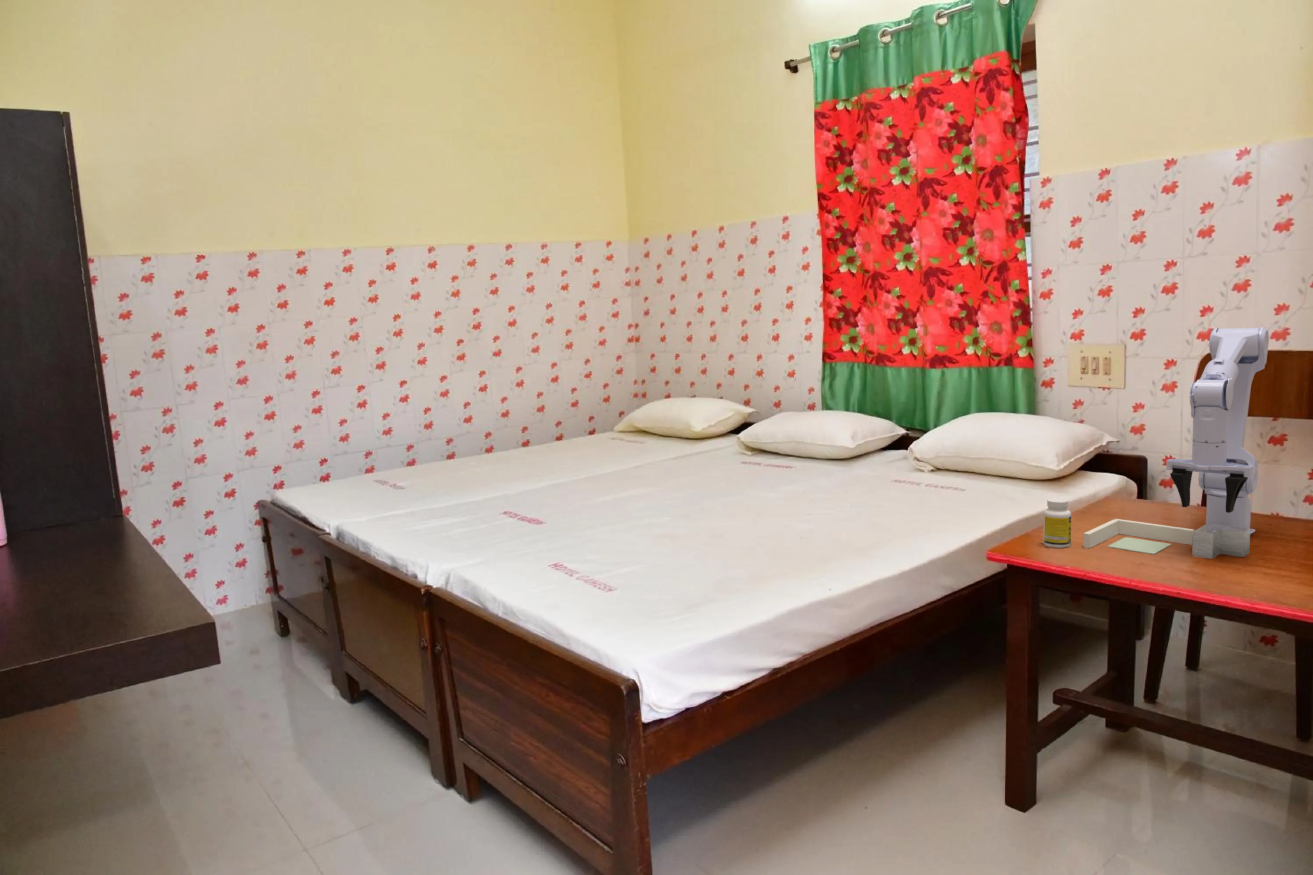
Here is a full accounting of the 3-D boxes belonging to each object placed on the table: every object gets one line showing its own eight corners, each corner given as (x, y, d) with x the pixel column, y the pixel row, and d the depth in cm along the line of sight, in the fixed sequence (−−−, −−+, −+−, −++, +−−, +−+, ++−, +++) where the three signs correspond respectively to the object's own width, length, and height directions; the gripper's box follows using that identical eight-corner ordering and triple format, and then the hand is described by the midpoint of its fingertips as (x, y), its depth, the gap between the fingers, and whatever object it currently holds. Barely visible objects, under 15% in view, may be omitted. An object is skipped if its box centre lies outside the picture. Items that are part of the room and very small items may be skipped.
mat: (1125, 537, 188) (1125, 537, 188) (1171, 544, 182) (1171, 543, 182) (1107, 546, 183) (1107, 546, 183) (1154, 554, 176) (1154, 553, 176)
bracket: (1206, 547, 179) (1207, 523, 178) (1249, 553, 173) (1250, 528, 172) (1192, 555, 174) (1192, 531, 173) (1235, 562, 168) (1236, 537, 167)
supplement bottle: (1073, 548, 183) (1074, 502, 182) (1046, 548, 184) (1046, 503, 183) (1067, 541, 188) (1067, 497, 187) (1040, 541, 189) (1040, 497, 188)
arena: (1115, 531, 193) (1115, 518, 193) (1193, 543, 182) (1194, 529, 181) (1083, 547, 184) (1083, 533, 183) (1164, 560, 172) (1164, 545, 171)
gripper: (1161, 440, 173) (1159, 507, 176) (1245, 447, 162) (1243, 518, 165) (1174, 435, 178) (1173, 501, 180) (1258, 441, 167) (1255, 510, 169)
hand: (1207, 508), depth 173 cm, fingers open, 7 cm apart
